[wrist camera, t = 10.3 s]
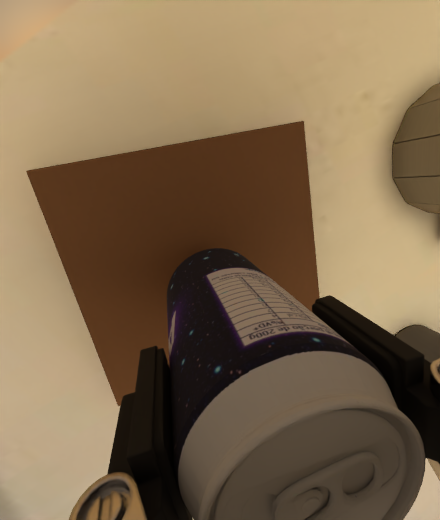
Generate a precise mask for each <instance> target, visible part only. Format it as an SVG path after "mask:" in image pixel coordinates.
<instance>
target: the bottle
mask: <svg viewBox="0 0 440 520" xmlns="http://www.w3.org/2000/svg"><path fill="white" fill-rule="evenodd" d="M395 337H397V338H399V339H400V340H402V341H403V342H405V343H406V344H408V345H410V346H411V347H413V348H414V349H416V350H417V351H419V352H421V353H422V354H424V359H426V360H427V361H429V362H430V363H432V362H433V361H435V360H437V359H439V358H440V334H439V333H437V332H435V331H433V330H431V329H429V328H427V327H425V326H421V325H414V326H410V327H407V328H405V329H404V330H402V331H401V332H399V333H398V334H397V335H396V336H395Z"/></svg>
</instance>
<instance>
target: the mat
mask: <svg viewBox="0 0 440 520" xmlns="http://www.w3.org/2000/svg"><path fill="white" fill-rule="evenodd" d="M27 174H28V177H29V179H30V182H31V184H32V187H33V189H34V192H35V195H36V197H37V200H38V202H39V205H40V207H41V210H42V212H43V215H44V218H45V220H46V223H47V225H48V228H49V230H50V233H51V235H52V238H53V241H54V243H55V246H56V248H57V251H58V253H59V256H60V258H61V261H62V264H63V266H64V269H65V271H66V274H67V276H68V279H69V281H70V284H71V287H72V289H73V292H74V294H75V297H76V299H77V302H78V304H79V307H80V310H81V312H82V315H83V317H84V320H85V322H86V325H87V327H88V330H89V333H90V335H91V338H92V340H93V343H94V345H95V348H96V350H97V353H98V356H99V358H100V361H101V363H102V366H103V368H104V371H105V373H106V376H107V379H108V381H109V384H110V386H111V389H112V391H113V394H114V396H115V399H116V402H117V404H118V406H120V405H121V401H122V398H123V396H124V395H127V394H130V393H133V392H135V388H136V380H137V373H138V365H139V358H140V351H141V350H142V349H146V348H149V347H153V346H157V347H158V349H161V348H163V349H164V351H165V354H166V358H167V361H168V364H169V342H168V318H167V288H168V284H169V281H170V279H171V277H172V275H173V273H174V271H175V270H176V269H177V267H178V266H179V265H180V264H181V263H182V262H183V261H184V260H185V259H187V258H188V257H190V256H191V255H193V254H195V253H197V252H200V251H203V250H206V249H212V248H223V249H229V250H232V251H235V252H237V253H239V254H241V255H243V256H244V257H245V258H247V259H248V260H249V261H250V262H252V263H253V264H254V265H255V266H256V267H258V268H259V269H260V270H261V271H262V272H264V273H265V274H266V275H267V276H269V277H270V278H271V279H272V280H273V281H275V282H276V283H277V284H278V285H279V286H281V287H282V288H283V289H284V290H286V291H287V292H288V293H289V294H290V295H292V296H293V297H294V298H295V299H296V300H298V301H299V302H300V303H301V304H302V305H304V306H305V307H306V308H307V309H309V310H310V311H311V312H312V305H313V304H315V300H316V299H319V288H318V277H317V265H316V254H315V243H314V232H313V220H312V209H311V198H310V187H309V176H308V164H307V153H306V142H305V131H304V121H301V122H296V123H290V124H284V125H279V126H273V127H268V128H262V129H257V130H251V131H245V132H240V133H234V134H229V135H223V136H218V137H212V138H207V139H201V140H195V141H190V142H184V143H179V144H173V145H168V146H162V147H157V148H151V149H145V150H140V151H134V152H129V153H123V154H118V155H112V156H106V157H101V158H95V159H90V160H84V161H79V162H73V163H68V164H62V165H56V166H51V167H45V168H40V169H34V170H29V171H27ZM169 368H170V366H169Z"/></svg>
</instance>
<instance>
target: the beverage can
mask: <svg viewBox="0 0 440 520" xmlns="http://www.w3.org/2000/svg"><path fill="white" fill-rule="evenodd" d="M167 318H168V342H169V366H170V390H171V414H172V438H173V462H174V474H175V478H176V482H177V486H178V490H179V493H180V495H181V498H182V500H183V502H184V504H185V505H186V507H187V509H188V510H189V512H190V514H191V515H192V517H193V519H194V520H403V519H404V518H405V516H406V515H407V513H408V512H409V510H410V509H411V507H412V505H413V503H414V501H415V499H416V497H417V495H418V492H419V490H420V487H421V485H422V481H423V476H424V472H425V451H424V445H423V442H422V439H421V436H420V434H419V432H418V430H417V429H416V427H415V426H414V424H413V423H412V422H411V420H410V419H409V418H408V417H407V416H406V415H405V414H403V413H402V412H401V411H400V410H398V408H397V405H396V403H395V400H394V398H393V396H392V393H391V391H390V388H389V386H388V384H387V382H386V380H385V378H384V376H383V374H382V373H381V372H380V370H379V369H378V368H377V367H376V365H375V364H374V363H372V362H371V361H370V360H369V359H368V358H367V357H366V356H364V355H363V354H362V353H361V352H359V351H358V350H357V349H356V348H355V347H353V346H352V345H351V344H350V343H349V342H347V341H346V340H345V339H344V338H342V337H341V336H340V335H339V334H338V333H336V332H335V331H334V330H333V329H332V328H330V327H329V326H328V325H327V324H326V323H324V322H323V321H322V320H321V319H319V318H318V317H317V316H316V315H315V314H313V313H312V312H311V311H310V310H309V309H307V308H306V307H305V306H304V305H302V304H301V303H300V302H299V301H298V300H296V299H295V298H294V297H293V296H292V295H290V294H289V293H288V292H287V291H286V290H284V289H283V288H282V287H281V286H279V285H278V284H277V283H276V282H275V281H273V280H272V279H271V278H270V277H269V276H267V275H266V274H265V273H264V272H262V271H261V270H260V269H259V268H258V267H256V266H255V265H254V264H253V263H252V262H250V261H249V260H248V259H247V258H245V257H244V256H243V255H241V254H239V253H237V252H235V251H232V250H229V249H223V248H212V249H206V250H203V251H200V252H197V253H195V254H193V255H191V256H190V257H188V258H187V259H185V260H184V261H183V262H182V263H181V264H180V265H179V266H178V267H177V269H176V270H175V271H174V273H173V275H172V277H171V279H170V281H169V284H168V288H167Z"/></svg>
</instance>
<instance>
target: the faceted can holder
mask: <svg viewBox="0 0 440 520" xmlns="http://www.w3.org/2000/svg"><path fill="white" fill-rule="evenodd" d="M393 143H394V144H393V179H394V181H395V183H396V185H397V187H398V188H399V190H400V192H401V194H402V196H403V198H404V200H405V201H406V202H407V203H408V204H410V205H412V206H415V207H417V208H419V209H422V210H424V211H426V212H431V213H440V83H439V84H436V85H434V86H432V87H431V88H430V89H429V90H428V91H427V92H426V93H425V94H424V95H423V96H422V97H420V98H419V99H418V100H417V101H416V102H415V103H414V104H413V105H412V106H411V107H410V108H409V109H408V110H407V112H406V114H405V117H404V119H403V121H402V124H401V126H400V128H399V131H398V133H397V135H396V138H395V140H394V142H393Z"/></svg>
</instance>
